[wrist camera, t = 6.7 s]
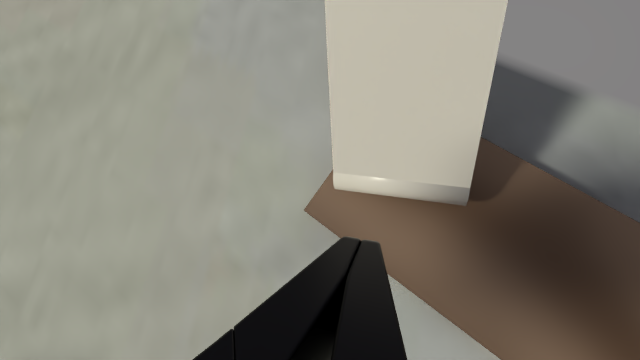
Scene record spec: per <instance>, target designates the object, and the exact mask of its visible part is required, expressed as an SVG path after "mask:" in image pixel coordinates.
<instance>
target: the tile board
mask: <svg viewBox="0 0 640 360" xmlns="http://www.w3.org/2000/svg"><path fill="white" fill-rule="evenodd" d="M304 211H305V212H307V213H308V214H309V215H311V216H312V217H313V218H315V219H316V220H317V221H319V222H320V223H321V224H323V225H324V226H325V227H327V228H328V229H329V230H331V231H332V232H333V233H334V234H336V235H337V236H338V237H340V238H342V237H344V236H348V237H354V238H359V239H360V240H361V241H362V240H364V239H366V240H372V241H377V242H379V243H380V245H381V250H382V254H383V258H384V262H385V267H386V271H387V274H389V275H390V276H391V277H393V278H394V279H395V280H397V281H398V282H399V283H401V284H402V285H403V286H405V287H406V288H407V289H408V290H410V291H411V292H412V293H414V294H415V295H416V296H418V297H419V298H420V299H422V300H423V301H424V302H426V303H427V304H428V305H430V306H431V307H432V308H434V309H435V310H436V311H438V312H439V313H440V314H442V315H443V316H444V317H445V318H447V319H448V320H449V321H451V322H452V323H453V324H455V325H456V326H457V327H459V328H460V329H461V330H463V331H464V332H465V333H467V334H468V335H469V336H471V337H472V338H473V339H475V340H476V341H477V342H479V343H480V344H481V345H482V346H484V347H485V348H486V349H488V350H489V351H490V352H492V353H493V354H494V355H496V356H497V357H498V358H500V359H501V360H640V223H639V222H637V221H635V220H633V219H632V218H630V217H628V216H626V215H624V214H622V213H620V212H619V211H617V210H615V209H613V208H611V207H609V206H608V205H606V204H604V203H602V202H600V201H598V200H596V199H595V198H593V197H591V196H589V195H587V194H585V193H584V192H582V191H580V190H578V189H576V188H574V187H572V186H571V185H569V184H567V183H565V182H563V181H561V180H559V179H558V178H556V177H554V176H552V175H550V174H548V173H547V172H545V171H543V170H541V169H539V168H537V167H535V166H534V165H532V164H530V163H528V162H526V161H524V160H523V159H521V158H519V157H517V156H515V155H513V154H511V153H510V152H508V151H506V150H504V149H502V148H500V147H499V146H497V145H495V144H493V143H491V142H489V141H487V140H486V139H484V138H482V137H480V142H479V147H478V152H477V157H476V162H475V167H474V171H473V176H472V181H471V186H470V192H469V198H468V202H467V205H466V206H463V205H455V204H447V203H439V202H431V201H424V200H416V199H408V198H400V197H392V196H385V195H377V194H369V193H361V192H353V191H345V190H338V189H335V188H334V185H333V170H332V172H331V173H330V174H329V176H328V177H327V179H326V180H325V181H324V183H323V184H322V185H321V187H320V188H319V190H318V191H317V192H316V194H315V195H314V197H313V198H312V199H311V201H310V202H309V204H308V205H307V206H306V208H305V209H304Z"/></svg>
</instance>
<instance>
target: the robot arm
mask: <svg viewBox="0 0 640 360" xmlns="http://www.w3.org/2000/svg"><path fill="white" fill-rule="evenodd" d="M193 360H407V357H406V352H405V348H404V344H403V340H402V335H401V331H400V327H399V322H398V318H397V314H396V310H395V305H394V301H393V297H392V292H391V288H390V284H389V280H388V275H387V271H386V267H385V262H384V258H383V254H382V250H381V245H380V243H379V242H377V241H372V240H366V239H364V240H362V241H361V240H360V239H359V238H354V237H348V236H344V237H342V238H341V239H340V240H339V241H337V242H336V243H335V244H334V245H332V246H331V247H330V248H329V249H328V250H326V251H325V252H324V253H323V254H322V255H320V256H319V257H318V258H317V259H315V260H314V261H313V262H312V263H311V264H309V265H308V266H307V267H306V268H305V269H303V270H302V271H301V272H300V273H298V274H297V275H296V276H295V277H294V278H292V279H291V280H290V281H289V282H288V283H286V284H285V285H284V286H283V287H281V288H280V289H279V290H278V291H277V292H275V293H274V294H273V295H272V296H271V297H269V298H268V299H267V300H266V301H264V302H263V303H262V304H261V305H260V306H258V307H257V308H256V309H255V310H254V311H252V312H251V313H250V314H249V315H247V316H246V317H245V318H244V319H243V320H241V321H240V322H239V323H238V324H237V325H235V326H234V330H233V329H230V330H229V331H228V332H227V333H225V334H224V335H223V336H222V337H221V338H219V339H218V340H217V341H216V342H214V343H213V344H212V345H211V346H209V347H208V348H207V349H205V350H204V351H203V352H202V353H200V354H199V355H198V356H196V357H195V358H194V359H193Z"/></svg>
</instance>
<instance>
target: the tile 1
mask: <svg viewBox="0 0 640 360" xmlns="http://www.w3.org/2000/svg"><path fill="white" fill-rule="evenodd" d="M507 4H508V0H325V16H326V36H327V56H328V76H329V97H330V117H331V137H332V157H333V185H334V188H335V189H338V190H345V191H353V192H361V193H369V194H377V195H385V196H392V197H400V198H408V199H416V200H424V201H431V202H439V203H447V204H455V205H463V206H466V205H467V202H468V198H469V192H470V186H471V181H472V176H473V171H474V167H475V162H476V157H477V152H478V147H479V142H480V137H481V132H482V127H483V122H484V117H485V112H486V107H487V102H488V98H489V93H490V88H491V83H492V78H493V73H494V68H495V63H496V58H497V53H498V48H499V43H500V38H501V33H502V28H503V24H504V18H505V14H506V9H507Z"/></svg>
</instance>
